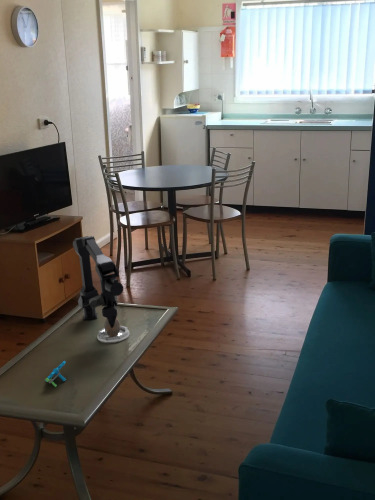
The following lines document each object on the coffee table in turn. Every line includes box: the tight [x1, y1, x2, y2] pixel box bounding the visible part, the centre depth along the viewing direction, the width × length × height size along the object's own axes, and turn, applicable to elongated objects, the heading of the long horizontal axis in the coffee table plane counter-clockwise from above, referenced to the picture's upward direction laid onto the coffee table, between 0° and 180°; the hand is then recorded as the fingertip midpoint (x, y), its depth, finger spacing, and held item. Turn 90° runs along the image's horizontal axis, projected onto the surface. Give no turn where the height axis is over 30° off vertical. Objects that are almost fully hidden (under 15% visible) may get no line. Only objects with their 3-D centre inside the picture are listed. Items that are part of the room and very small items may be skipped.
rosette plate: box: [96, 324, 131, 344], centre depth 250 cm, size 14×14×2 cm
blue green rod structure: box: [44, 360, 67, 388], centre depth 214 cm, size 11×6×10 cm
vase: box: [103, 317, 122, 336], centre depth 249 cm, size 7×7×9 cm
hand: (112, 323), depth 248 cm, fingers open, 9 cm apart
